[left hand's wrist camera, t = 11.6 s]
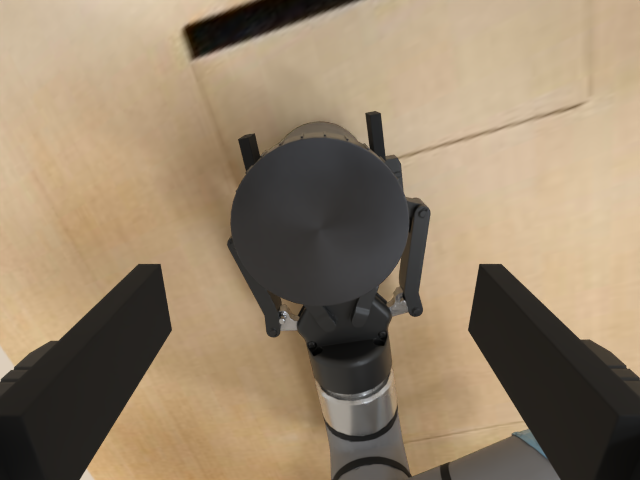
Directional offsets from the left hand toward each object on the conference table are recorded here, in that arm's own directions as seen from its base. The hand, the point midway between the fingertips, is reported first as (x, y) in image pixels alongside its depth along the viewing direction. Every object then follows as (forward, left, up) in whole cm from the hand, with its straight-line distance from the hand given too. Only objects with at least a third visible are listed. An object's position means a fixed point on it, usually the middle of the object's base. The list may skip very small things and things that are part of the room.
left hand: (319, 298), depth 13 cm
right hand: (-4, -2, -17) cm, 18 cm away
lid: (0, 0, -8) cm, 8 cm away
